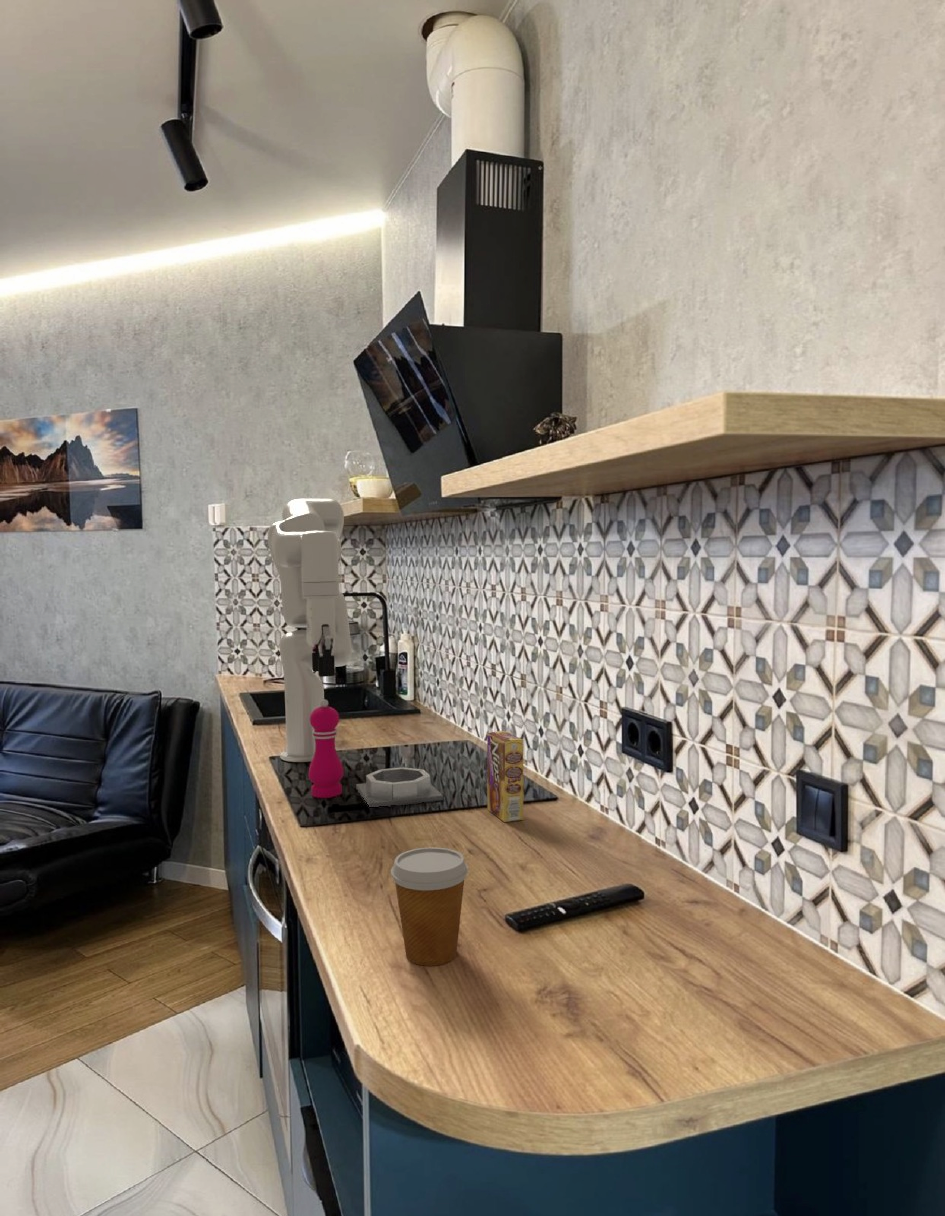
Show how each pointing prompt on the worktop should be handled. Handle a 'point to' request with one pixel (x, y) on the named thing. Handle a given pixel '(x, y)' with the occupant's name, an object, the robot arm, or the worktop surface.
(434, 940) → the disposable coffee cup
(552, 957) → the worktop surface
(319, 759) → the pepper mill
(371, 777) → the collar stand
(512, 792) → the candy box
